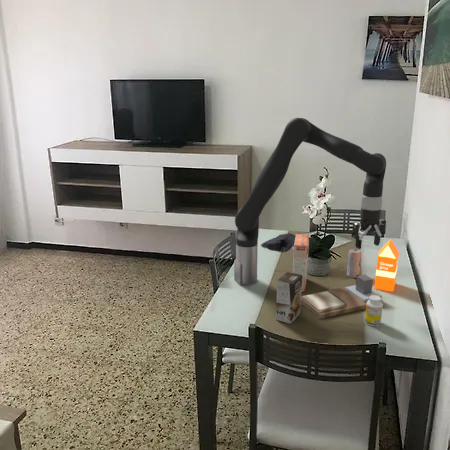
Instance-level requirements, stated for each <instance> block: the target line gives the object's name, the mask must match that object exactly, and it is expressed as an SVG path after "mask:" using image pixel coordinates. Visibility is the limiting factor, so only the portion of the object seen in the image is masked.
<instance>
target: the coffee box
mask: <svg viewBox="0 0 450 450" xmlns="http://www.w3.org/2000/svg"><path fill="white" fill-rule="evenodd" d="M301 290H302V275H299V274H294V273H293V272H289V271H286V272H285V273H284V274H283V275H281V277H279V278H278V279H277V281H276V301H275V302H276V305H275V320H277V321H278V322H279V321H280V322H283V323H285V324H289V323H290V324H292V323H293V322H294V321H295V320H296V319H297V318H298V317H299V316H300V315H301V311H302V310H301V307H302V304H301V296H302V292H301ZM299 314H300V315H299ZM290 324H289V325H290Z"/></svg>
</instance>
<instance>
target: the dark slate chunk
mask: <svg viewBox="0 0 450 450" xmlns="http://www.w3.org/2000/svg"><path fill="white" fill-rule="evenodd" d="M295 237H296V234H294V233H291V232H290V233H289V232H288V233H282V234H278V235H277V236H275V237H273V238H271V239H268V240H266V241H264V242H263V243H261V244H260V246H261V248H264V249H268V250H271V251H275V252H276V251H278V252H284V251H285V252H287V251H289V249H290V248H291V247H292V246H293V245H294V243H295ZM292 244H293V245H292ZM291 245H292V246H291ZM286 250H287V251H286Z"/></svg>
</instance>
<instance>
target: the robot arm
mask: <svg viewBox="0 0 450 450" xmlns="http://www.w3.org/2000/svg"><path fill="white" fill-rule="evenodd" d="M302 143H307V144H309V145H314V146H317V147H318V148H320V149H323V150H325V151H326V152H327V153H329V154H331V155H333V156H335V157H336V158H338V159H340V160H342V161H345V162H347V163H349V164H352V165H353V166H355V167H356V168H358V169H359V170H361V171H363V172H364V173H366V174H365V180H364V183H363V186H362V187H363V189H362V197H361V203H360V212H359V213H360V214H359V216H360V217H359V218H360V221H359V222H353V223H352V231H351V238H353V239H355V249H359V250H361V249H362V242H363V238H364V236H366V235H367V234H369V233H374V239H373V245H375V246H377V247H378V246H379V245H380V244H381V237H382V235H385V234H386V229H387V220H386V219H383V218H381V217H382V207H383V191H384V189H383V188H384V181H385V180H384V179H385V174H386V169H387V160H386V159H387V158H386V157H385V156H384V155H383V154H381V153H380V152H379V153H378V152H376V153H370V152H369V151H366V150H365V149H363V147H361V146H359V145H357V144H355V143H353V142H351V141H348V140H347V139H343V138H341V137H338V136H336V135H333V134H331V133H329V132H327V131H325V130H323V129H321V128H320V127H318V126H316V125H315V124H313V123H312V122H311V121H309V120H308V119H307V118H304V117H295V118H293V119H290V120H289V121H288V122H287V124H286V125H285V128H284V130H283V132H282V135H281V136H280V139H279V141H278V143H277V146H276V147H275V148H274V150H273V152H272V153H271V155H270V156H269V158H267V159H268V160H267V161H266V163H265V164H264V165H263V168H262V169H261V171H260V173H259V174H258V177H257V178H256V180H255V183H254V185H253V188H252V189H251V192H250V195H249V196H248V198H247V200H246V201H245V203H244V204H243V206H241V208H240V209H238V211H237V212H236V215H235V217H234V224H235V227H236V229H237V231H236V236H235V237H236V238H235V259H234V261H233V264H234V270H233V271H234V272H233V273H234V275H233V276H234V278H233V280H234V281H235V282H236V283H237V284H239V285H243V286H245V285H247V286H248V285H254V284H256V283H257V282H258V241H259V230H260V228H259V227H260V215H261V214H262V211H263V210H264V208H265V206H266V205H267V204H268V202H269V201H270V200H271V199H272V197H273V196H274V194H275V193H276V191H277V190H278V189H279V187H280V185H281V184H282V182H283V180H284V179H285V177H286V174H287V172H288V170H289V167H290V163H291V160H292V158H293V156H294V154H295V153H296V151H297V150H298V148H299V147H300V145H301V144H302Z"/></svg>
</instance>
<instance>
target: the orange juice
mask: <svg viewBox="0 0 450 450" xmlns="http://www.w3.org/2000/svg"><path fill="white" fill-rule="evenodd" d="M399 254H400V251H399V250H398V249H397V247H396V245H395V244H394V242H393V240H392V239H391V238H390V239H389V240H388V241H387V242H386V243H385V244H384V245H383V246H382V247H381V248H380V249H379V251H378V254H377V260H376V268H375V269H376V270H375V279H374V289H376V290H381V291H387V292H394V289H395V286H396V280H397V272H398V264H399V263H398V262H399Z"/></svg>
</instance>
